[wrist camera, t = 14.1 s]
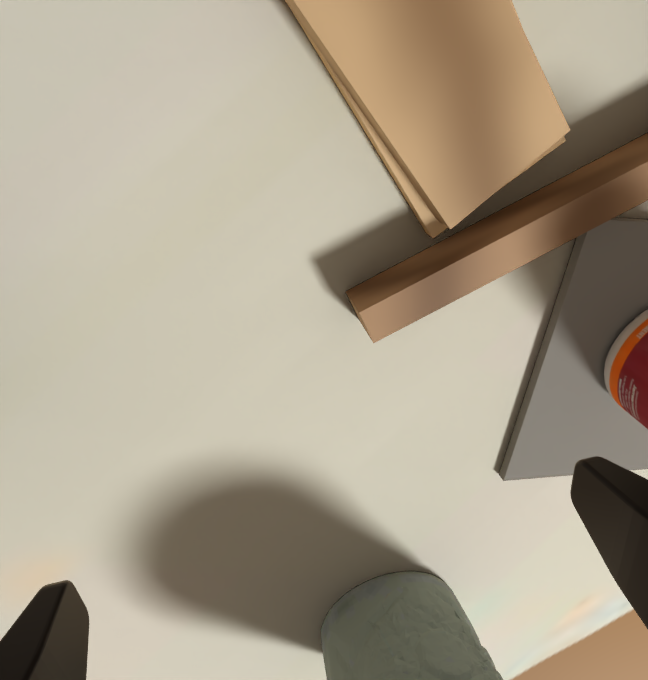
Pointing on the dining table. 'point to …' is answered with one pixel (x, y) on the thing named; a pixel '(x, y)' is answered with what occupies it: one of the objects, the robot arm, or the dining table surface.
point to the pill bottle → (630, 369)
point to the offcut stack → (439, 94)
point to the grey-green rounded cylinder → (402, 633)
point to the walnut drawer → (503, 241)
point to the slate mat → (584, 361)
